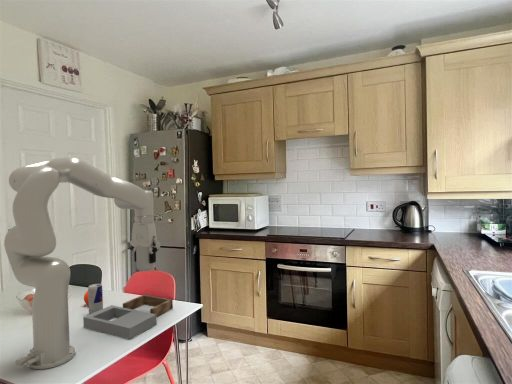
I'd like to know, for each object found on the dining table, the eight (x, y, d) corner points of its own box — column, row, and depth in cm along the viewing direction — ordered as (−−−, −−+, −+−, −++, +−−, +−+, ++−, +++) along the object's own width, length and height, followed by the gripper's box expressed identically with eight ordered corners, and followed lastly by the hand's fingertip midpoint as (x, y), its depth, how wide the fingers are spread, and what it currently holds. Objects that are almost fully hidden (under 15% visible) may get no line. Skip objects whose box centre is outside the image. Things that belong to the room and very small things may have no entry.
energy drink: (105, 313, 137) (104, 285, 137) (91, 317, 134) (90, 288, 133) (100, 310, 141) (99, 282, 141) (86, 314, 137) (85, 285, 137)
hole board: (130, 339, 114) (129, 328, 114) (83, 327, 124) (83, 317, 124) (156, 324, 126) (156, 314, 126) (111, 314, 136) (111, 305, 136)
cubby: (152, 319, 131) (152, 309, 131) (122, 312, 138) (122, 303, 138) (172, 308, 142) (172, 299, 141) (144, 303, 149) (143, 294, 148)
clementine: (84, 302, 151) (83, 287, 150) (101, 300, 153) (100, 285, 153) (83, 308, 143) (82, 292, 143) (101, 305, 146) (100, 290, 146)
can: (151, 271, 134) (151, 242, 134) (133, 271, 134) (133, 242, 134) (157, 267, 142) (157, 239, 141) (140, 267, 142) (139, 239, 142)
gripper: (122, 220, 137) (122, 262, 138) (154, 221, 130) (154, 265, 130) (135, 218, 144) (136, 258, 145) (166, 219, 137) (167, 261, 137)
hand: (145, 261), depth 137 cm, fingers closed on can, 7 cm apart
